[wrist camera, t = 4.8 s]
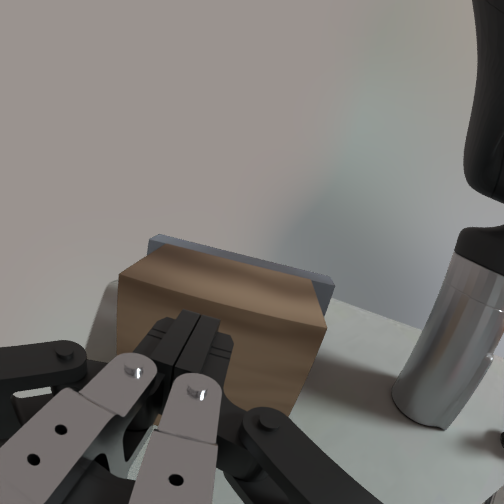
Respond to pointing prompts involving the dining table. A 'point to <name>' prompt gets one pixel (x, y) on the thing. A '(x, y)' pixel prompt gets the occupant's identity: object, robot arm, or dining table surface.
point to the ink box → (496, 497)
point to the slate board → (320, 282)
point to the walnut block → (229, 318)
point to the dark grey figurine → (502, 439)
